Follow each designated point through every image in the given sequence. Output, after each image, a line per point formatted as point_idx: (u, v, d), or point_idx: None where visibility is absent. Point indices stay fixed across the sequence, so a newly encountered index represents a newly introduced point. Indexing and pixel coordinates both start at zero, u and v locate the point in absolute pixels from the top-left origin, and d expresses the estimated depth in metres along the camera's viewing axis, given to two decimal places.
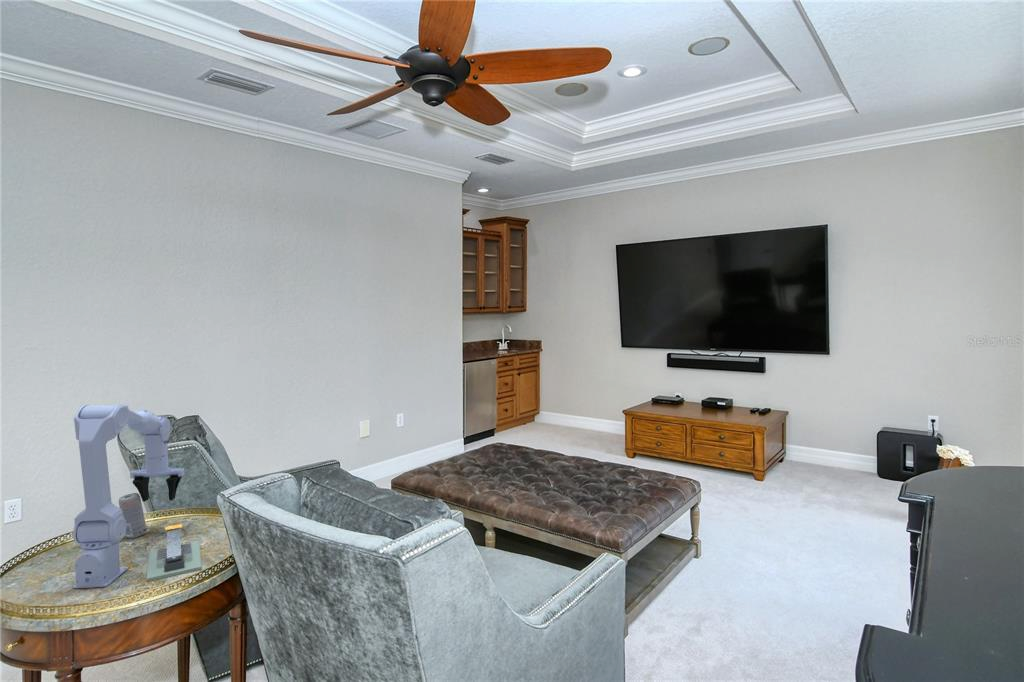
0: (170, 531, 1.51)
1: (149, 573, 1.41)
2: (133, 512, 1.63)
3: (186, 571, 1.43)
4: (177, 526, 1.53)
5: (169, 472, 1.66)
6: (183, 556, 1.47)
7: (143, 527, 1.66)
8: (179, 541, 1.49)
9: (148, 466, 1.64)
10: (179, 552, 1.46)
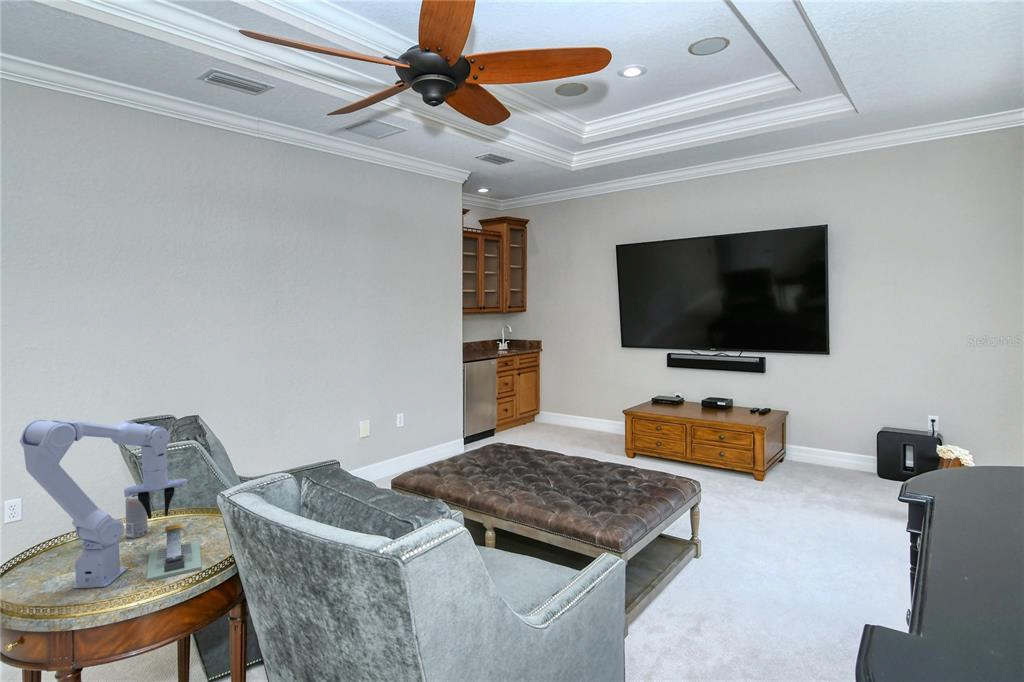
0: (170, 531, 1.51)
1: (149, 573, 1.41)
2: (137, 512, 1.64)
3: (186, 571, 1.43)
4: (177, 526, 1.53)
5: (173, 484, 1.54)
6: (183, 556, 1.47)
7: (145, 528, 1.66)
8: (179, 541, 1.49)
9: (150, 480, 1.50)
10: (179, 552, 1.46)
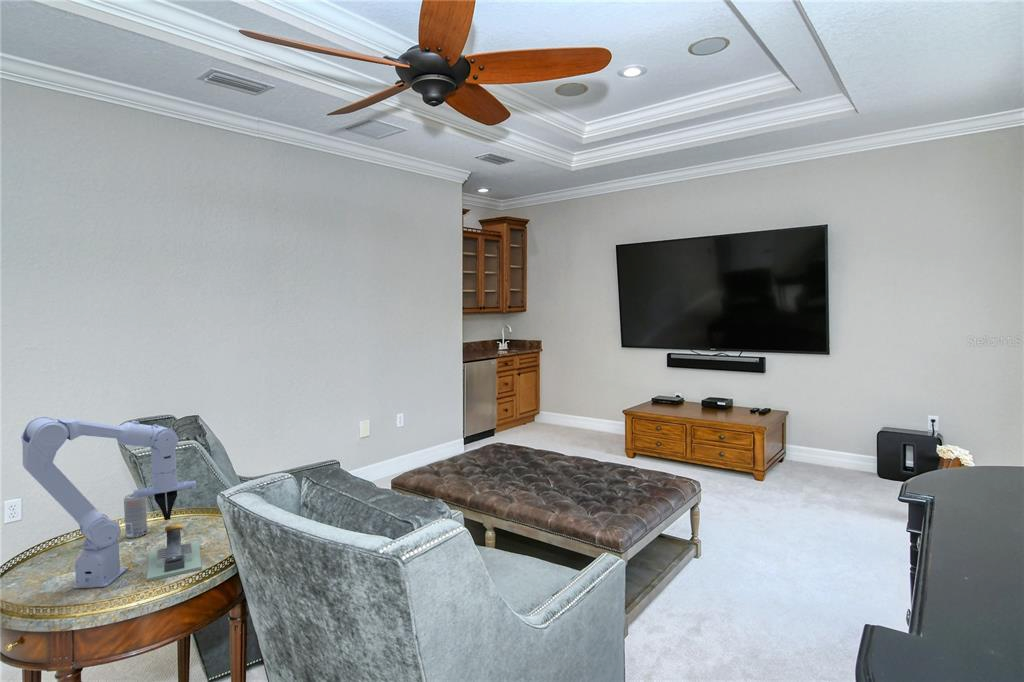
0: (170, 531, 1.51)
1: (149, 573, 1.41)
2: (136, 511, 1.64)
3: (186, 571, 1.43)
4: (177, 526, 1.53)
5: (183, 486, 1.52)
6: (183, 556, 1.47)
7: (144, 528, 1.66)
8: (179, 541, 1.49)
9: (159, 482, 1.49)
10: (179, 552, 1.46)
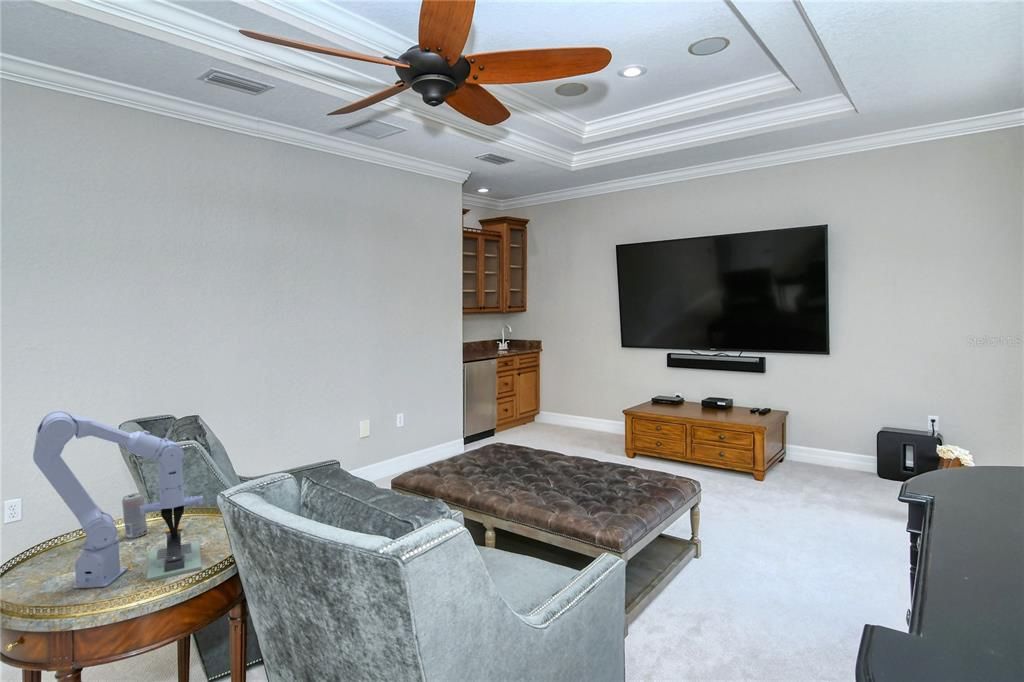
0: (170, 533, 1.52)
1: (149, 573, 1.41)
2: (134, 512, 1.63)
3: (186, 571, 1.43)
4: None
5: (190, 501, 1.51)
6: (183, 556, 1.47)
7: (144, 528, 1.66)
8: (179, 542, 1.49)
9: (166, 498, 1.48)
10: (179, 552, 1.46)
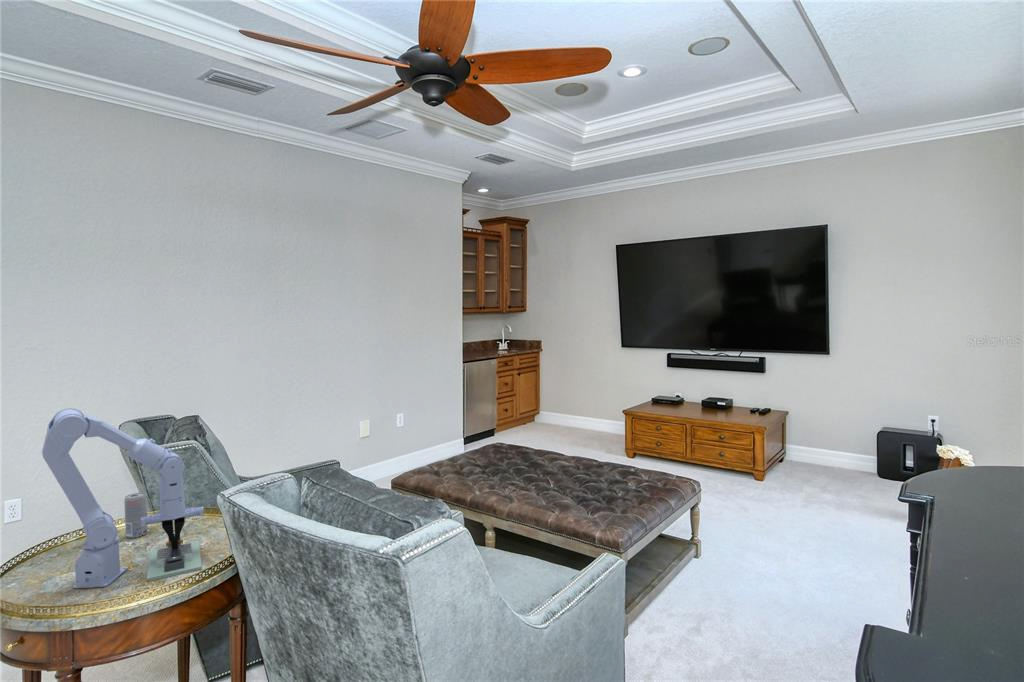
0: None
1: (149, 573, 1.41)
2: (136, 511, 1.64)
3: (186, 571, 1.43)
4: (178, 540, 1.54)
5: (190, 513, 1.52)
6: (183, 556, 1.47)
7: (144, 528, 1.66)
8: (179, 548, 1.49)
9: (167, 509, 1.48)
10: (180, 554, 1.46)
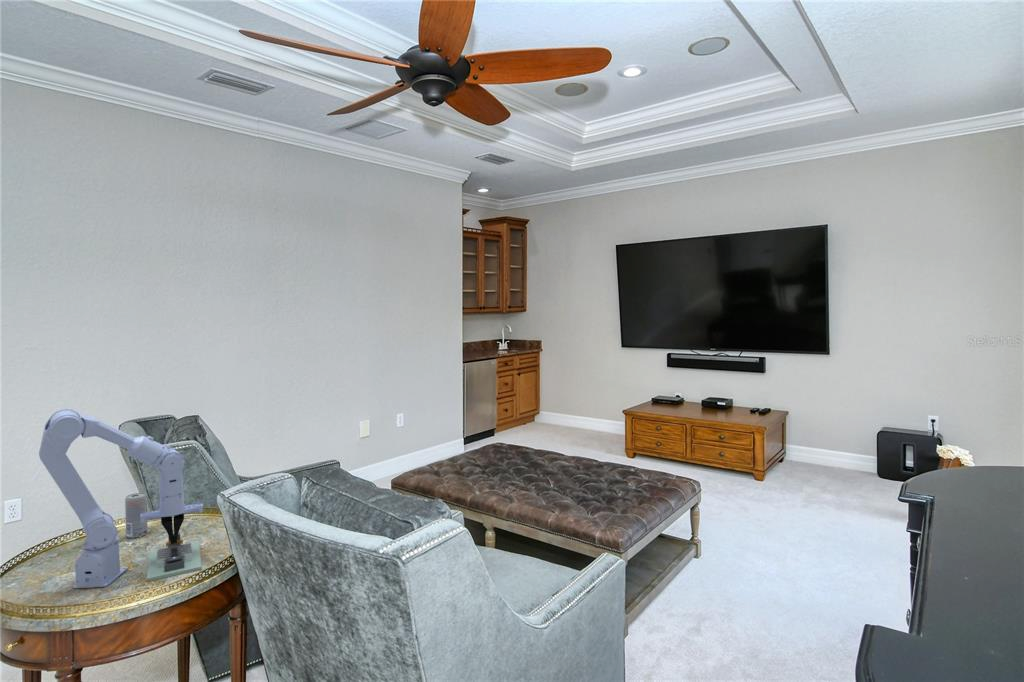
0: (171, 544, 1.52)
1: (149, 573, 1.41)
2: (136, 512, 1.64)
3: (186, 571, 1.43)
4: (178, 540, 1.54)
5: (190, 509, 1.51)
6: (183, 556, 1.47)
7: (144, 528, 1.66)
8: (179, 548, 1.49)
9: (166, 505, 1.48)
10: (180, 554, 1.46)
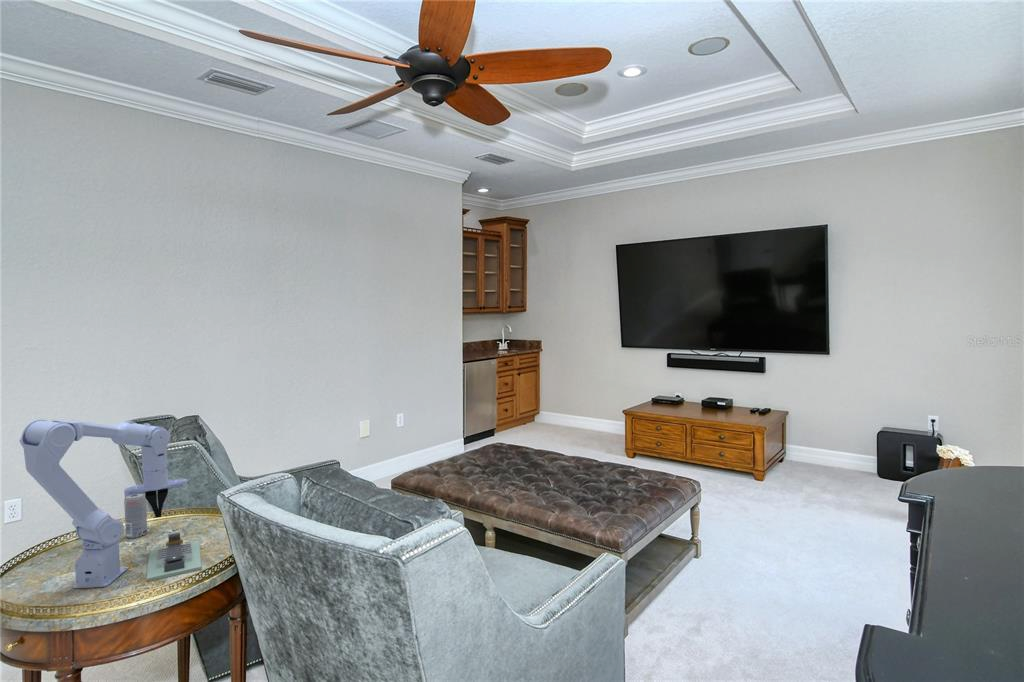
0: (171, 544, 1.52)
1: (149, 573, 1.41)
2: (135, 511, 1.64)
3: (186, 571, 1.43)
4: (178, 540, 1.54)
5: (173, 484, 1.54)
6: (183, 556, 1.47)
7: (144, 528, 1.66)
8: (179, 548, 1.49)
9: (150, 480, 1.50)
10: (180, 554, 1.46)
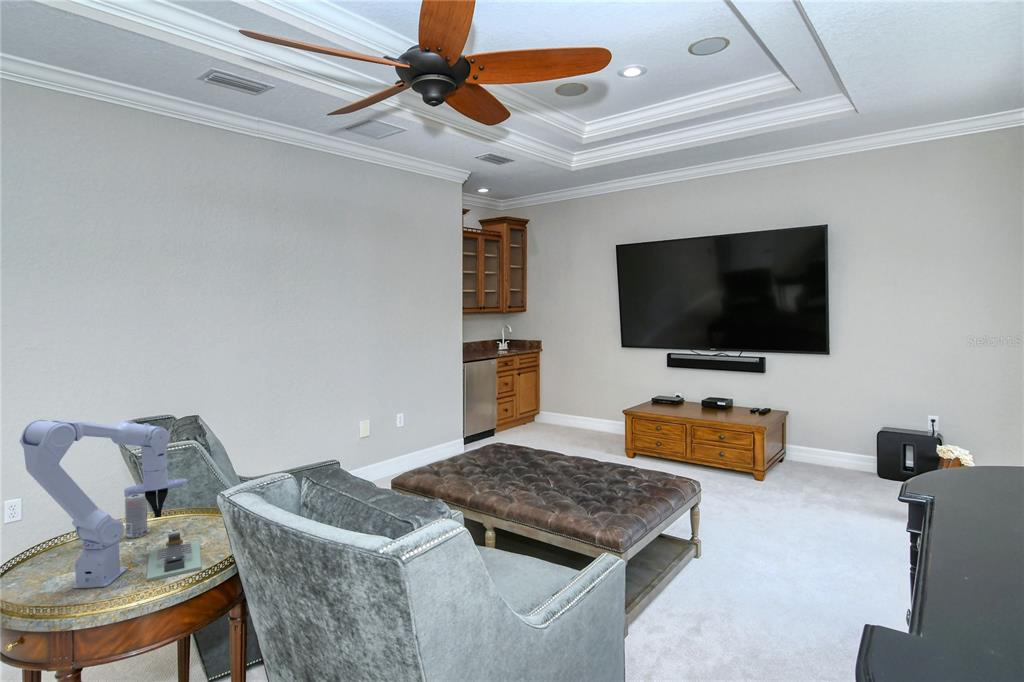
0: (171, 544, 1.52)
1: (149, 573, 1.41)
2: (136, 512, 1.64)
3: (186, 571, 1.43)
4: (178, 540, 1.54)
5: (173, 484, 1.54)
6: (183, 556, 1.47)
7: (144, 529, 1.66)
8: (179, 548, 1.49)
9: (150, 480, 1.50)
10: (180, 554, 1.46)
